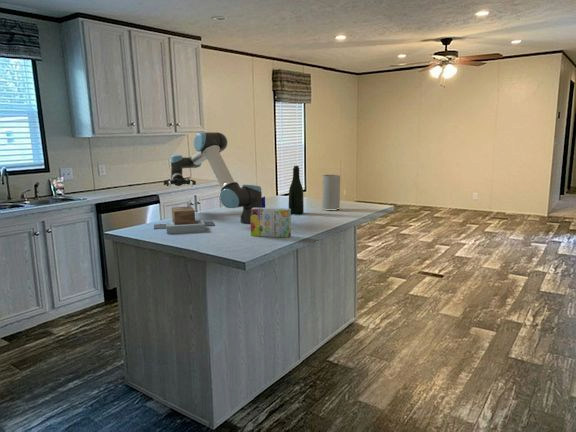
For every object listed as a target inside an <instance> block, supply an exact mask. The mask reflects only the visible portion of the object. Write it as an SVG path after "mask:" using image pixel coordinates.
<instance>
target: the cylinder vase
mask: <svg viewBox="0 0 576 432" xmlns="http://www.w3.org/2000/svg"><path fill="white" fill-rule="evenodd" d="M321 196H322V200H321V201H322V204H321V205H322V206H321V208H324V209H337V208H340V205H341V203H340V201H341V199H340V198H341V197H340V196H341V175H340V174H323V175H322V195H321Z"/></svg>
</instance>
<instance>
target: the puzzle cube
mask: <svg viewBox="0 0 576 432" xmlns="http://www.w3.org/2000/svg"><path fill="white" fill-rule="evenodd" d="M262 208H266V196H265V195H264V196H262Z"/></svg>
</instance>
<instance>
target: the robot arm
mask: <svg viewBox="0 0 576 432" xmlns="http://www.w3.org/2000/svg"><path fill="white" fill-rule="evenodd" d="M193 147H194V149H195V151H196V153H195V154H193V155H192V156H189V157H188V156H187V157H183V155H182V154H172V155H171V157H170V169H171V171H170V173H171V174H170V178H168V179H165V180H163V185H164V186H166V187H169V188H171V187H172V185H175V186H176V187H181V186H183V185H189V186H190V187H192V188H193V186H195V185H197V181H196V180H194V179H190V178H187V179H186V178H184V176H183V169H195V168H200V167H201V165H202V163H204V162H206V160H207V161H208V163H209V165H210V167H211V169H212V172H213V174H214V175H215V178H216V179H217V182H218V184H219V186H220V194H219V197H220V198H219V200H220V203H221V204H222V205H223V206H224V207H225V208H227V209H237V208H242V211H241V215H240V218H239V219H240V223H241V224H249V225H251V209H252V208H262V195H263V194H262V187H261V186H260V185H253V184H242V187H241V186H240V184H239V183H238V182H237V181H234V178H233V177H232V174H231V173H230V170H229V168H228V166H227V164H226V162H225V160H224V159H223V156H222V155H221V152H223V151H224V150H226V149H227V147H228V139H227V137H226V135H224V133H221V132H218V131H217V132H215V131H214V132H211V131H210V132H204V131H203V132H198V133H197V134H195V137H194V139H193Z"/></svg>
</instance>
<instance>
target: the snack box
mask: <svg viewBox="0 0 576 432" xmlns="http://www.w3.org/2000/svg"><path fill="white" fill-rule="evenodd" d="M291 221H292V214H291V209H289V208H285V207H284V208H283V207H282V208H278V207H265V208H252V209H251V224H250V236H251V237H271V238H287V239H288V238H290V237H291V236H292V235H291V234H292V233H291V231H292V229H291V228H292V227H291V225H292V224H291V223H292V222H291Z"/></svg>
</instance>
